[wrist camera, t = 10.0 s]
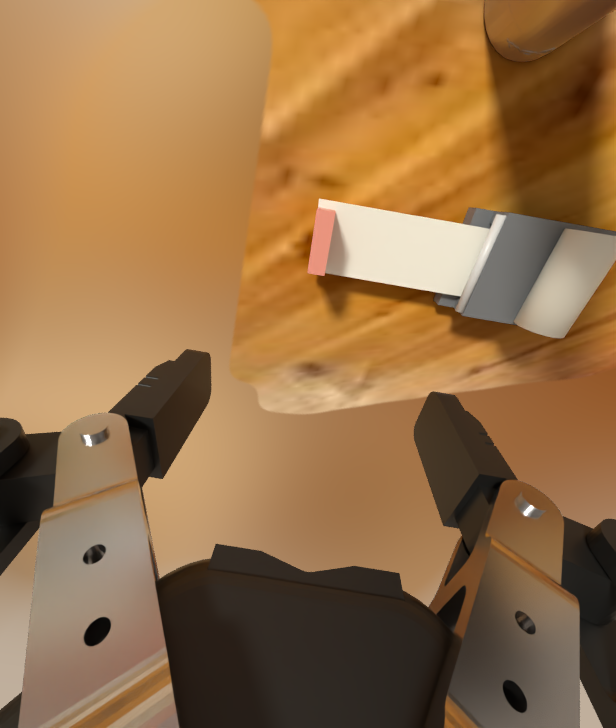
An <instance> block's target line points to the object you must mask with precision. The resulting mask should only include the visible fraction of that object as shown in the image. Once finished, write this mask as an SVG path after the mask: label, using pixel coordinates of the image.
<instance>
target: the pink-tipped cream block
mask: <svg viewBox="0 0 616 728" xmlns="http://www.w3.org/2000/svg"><path fill="white" fill-rule="evenodd" d="M489 230H490V229H488V228H482V227H477V226H471V225H465V224H460V223H454V222H448V221H443V220H437V219H432V218H426V217H420V216H415V215H409V214H403V213H398V212H392V211H386V210H381V209H375V208H369V207H364V206H358V205H352V204H347V203H341V202H336V201H330V200H324V199H319V205H318V208H317V212H316V219H315V226H314V232H313V239H312V246H311V253H310V259H309V266H308V273H310V274H316V275H321V276H324V275H325V273H328V274H334V275H339V276H345V277H351V278H357V279H362V280H368V281H374V282H380V283H385V284H391V285H397V286H403V287H409V288H414V289H420V290H426V291H432V292H437V293H443V294H449V295H455V296H460V297H461V295H462V292H463V290H464V288H465V285H466V283H467V281H468V279H469V276H470V274H471V272H472V269H473V267H474V265H475V262H476V260H477V258H478V255H479V253H480V251H481V248H482V246H483V244H484V242H485V239H486V237H487V235H488V232H489Z"/></svg>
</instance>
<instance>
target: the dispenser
mask: <svg viewBox="0 0 616 728" xmlns="http://www.w3.org/2000/svg"><path fill="white" fill-rule="evenodd" d="M463 224H465V225H471V226H477V227H482V228H488V229H490V230H489V232H488V235H487V237H486V239H485V242H484V244H483V246H482V248H481V251H480V253H479V255H478V258H477V260H476V262H475V265H474V267H473V269H472V272H471V274H470V276H469V279H468V281H467V283H466V285H465V288H464V290H463V292H462V295H461V297H460V296H455V295H449V294H443V293H437V292H436V294H435V297H434V299H433V300H434V301H435V302H436V303H437V304H438V305H442V306H448V307H453V308H454V309H455V311H457V312H459V313H460V314H461V315H462V316H466V317H472V318H478V319H484V320H489V321H495V322H501V323H507V324H513V325H518V326H520V327H522V328H524V329H526V330H529V331H531V332H534V333H537V334H540V335H544V336H548V337H552V338H564V337H565V336H566V334H567V333H568V331H569V330H570V328H571V327H572V325H573V324H574V322H575V321H576V319H577V318H578V316H579V315H580V313H581V312H582V310H583V309H584V307H585V306H586V304H587V303H588V301H589V300H590V298H591V297H592V295H593V294H594V292H595V291H596V289H597V288H598V286H599V285H600V283H601V282H602V280H603V279H604V277H605V276H606V274H607V273H608V271H609V270H610V268H611V267H612V265H613V264H614V262H615V261H616V232H615V231H610V230H604V229H599V228H593V227H587V226H582V225H576V224H571V223H565V222H559V221H554V220H548V219H542V218H537V217H531V216H526V215H520V214H514V213H508V212H497V211H490V210H485V209H479V208H469V209H468V211H467V214H466V216H465V219H464V222H463Z"/></svg>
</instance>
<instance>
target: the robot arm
mask: <svg viewBox="0 0 616 728" xmlns="http://www.w3.org/2000/svg"><path fill="white" fill-rule="evenodd" d="M614 10H616V0H485V6H484V19H485V25H486V31H487V34H488V37H489V39H490V42H491V44H492V45H493V47H494V48H495V49H496V51H497V52H498V53H499V54H501V55H502V56H503V57H504V58H506V59H509V60H512V61H515V62H527V61H531V60H536V59H538V58H540V57H543V56H545V55H547V54H549V53H550V52H552V51H553V50H555V49H556V48H558V47H559V46H561V45H562V44H564V43H565V42H567V41H568V40H570V39H571V38H573V37H574V36H576V35H578V34H579V33H581V32H582V31H584V30H585V29H587V28H588V27H590V26H591V25H593V24H595V23H596V22H598V21H599V20H601V19H602V18H604V17H605V16H607V15H608V14H610V13H611V12H613V11H614ZM210 395H211V358H210V354H209V353H207V352H201V351H195V350H189V349H187V350H185V351H184V352H183V353H182V354H181V355H180V356H179V357H178V359H176V360H175V361H170V360H169V361H167V362H165V363H162V364H160V365H158V366H156V367H155V368H154V369H153V370H152V371H151V372H149V373H148V374H147V375H146V378H143V379H142V380H141V381H140V382H139V383H138V385H136V386H135V387H134V388H133V389H132V390H131V391H130V392H129V393H128V394H127V395H126V396H125V397H123V398H122V399H121V400H120V401H119V402H118V403H117V404H116V405H115V406H114V407H113V408H112V409H111V410H110V411H109V412H108V413H98V414H93V415H89V416H86V417H83V418H81V419H79V420H76V421H75V422H73V423H71V424H70V425H69V426H67V427H66V428H65V429H64V430H63V431H62V432H52V433H38V434H25V432H24V430H23V429H22V426H21V424H20V423H19V422H18V421H16V420H14V419H9V418H0V575H1V574H2V573H3V572H4V570H5V569H6V568H7V567H8V565H9V564H10V563H11V562H12V561H13V559H14V558H15V557H16V556H17V554H18V553H19V552H20V551H21V550H22V548H23V547H24V546H25V545H26V543H27V542H28V541H29V540H30V539H31V537H32V536H33V535H34V534H35V532H36V531H37V530H38V529H39V538H38V546H37V556H36V565H35V575H34V584H33V594H32V603H31V612H30V622H29V632H28V641H27V650H26V660H25V670H24V678H23V688H22V692H21V693H20V694H19V695H18V696H16V697H15V698H14V699H13V700H12V701H10V702H9V703H8V704H7V705H6V706H4V707H3V708H2V709H1V710H0V728H580V680H581V682H582V684H583V686H584V688H585V690H586V692H587V695H588V697H589V699H590V701H591V703H592V705H593V707H594V709H595V711H596V713H597V715H598V718H599V720H600V722H601V724H602V726H603V728H616V520H615V519H605V520H603V521H602V522H601V523H600V524H598V525H597V526H596V527H595V528H594V529H592V528H590V527H588V526H585V525H583V524H580V523H578V522H576V521H573V520H571V519H568V518H566V517H564V516H562V514H561V512H560V510H559V509H558V507H557V506H556V505H555V504H554V503H553V502H552V501H551V500H550V499H549V498H548V497H547V496H546V495H545V494H543V493H542V492H541V491H539V490H538V489H536V488H535V487H533V486H531V485H529V484H527V483H524V482H521V481H518V479H517V478H516V476H515V475H514V473H513V472H512V470H511V469H510V467H509V466H508V464H507V463H506V461H505V460H504V458H503V457H502V455H501V453H500V452H499V450H498V449H497V447H496V446H494V443H493V442H492V440H491V438H490V437H489V436H487V432H486V431H485V429H484V428H483V426H482V425H481V423H480V422H479V421H478V420H477V419H476V418H475V417H473V415H471V414H470V413H469V412H468V411H465V410H464V408H463V407H462V405H461V403H460V402H459V400H458V399H457V397H456V396H455V395H451V394H446V393H440V392H431V393H430V394H429V395H428V397H427V400H426V401H425V404H424V406H423V408H422V411H421V413H420V415H419V417H418V419H417V421H416V424H415V427H414V440H415V443H416V446H417V449H418V452H419V455H420V458H421V461H422V464H423V467H424V470H425V473H426V476H427V479H428V482H429V485H430V487H431V490H432V494H433V497H434V500H435V502H436V505H437V509H438V511H439V514H440V517H441V520H442V523H443V525H444V526H448V527H454V528H459V529H460V531H461V534H462V536H461V537H460V539H459V540H458V542H457V544H456V546H455V549H454V551H453V554H452V556H451V558H450V561H449V564H448V566H447V568H446V571H445V573H444V576H443V578H442V581H441V583H440V586H439V588H438V590H437V593H436V595H435V597H434V598H433V600H432V602H431V604H430V605H429V607H427V606H426V605H424V604H423V603H422V602H421V601H419V600H418V599H416V598H415V597H413V596H411V595H410V594H408V593H407V592H405V591H403V590H402V585H401V580H400V574H399V573H395V572H389V571H382V570H375V569H369V568H363V567H357V566H352V567H345V568H338V569H331V570H324V571H317V572H304V571H302V570H300V569H298V568H296V567H293V566H291V565H289V564H287V563H285V562H283V561H281V560H279V559H277V558H275V557H273V556H270V555H268V554H266V553H264V552H262V551H257V550H251V549H245V548H238V547H232V546H226V545H219V544H216V545H215V548H214V551H213V554H212V557H211V559H205V560H200V561H197V562H193V563H190V564H187V565H185V566H182V567H180V568H178V569H176V570H174V571H172V572H170V573H168V574H166V575H165V576H163V577H162V578H159V573H158V568H157V563H156V558H155V553H154V548H153V543H152V538H151V532H150V527H149V522H148V516H147V511H146V506H145V500H144V495H143V490H142V487H143V485H144V483H145V482H146V480H147V479H148V477H154V478H160V479H163V478H164V476H165V474H166V473H167V471H168V469H169V467H170V466H171V464H172V463H173V461H174V459H175V458H176V456H177V454H178V453H179V451H180V449H181V448H182V446H183V444H184V443H185V441H186V439H187V438H188V436H189V434H190V432H191V431H192V429H193V428H194V426H195V424H196V423H197V421H198V419H199V418H200V416H201V414H202V413H203V411H204V409H205V408H206V406H207V404H208V402H209V399H210Z"/></svg>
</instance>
